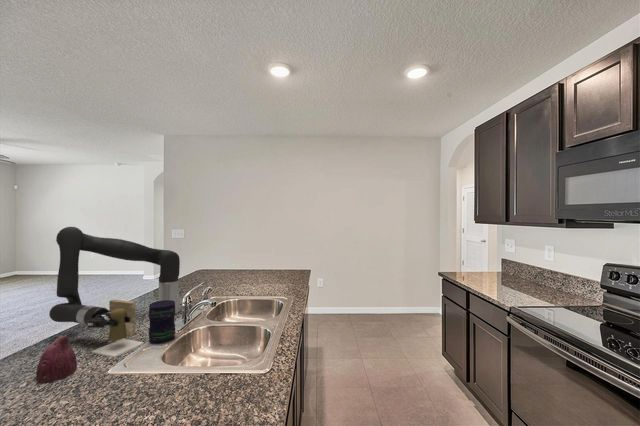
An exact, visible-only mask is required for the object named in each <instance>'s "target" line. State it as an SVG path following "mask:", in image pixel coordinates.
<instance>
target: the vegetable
mask: <svg viewBox="0 0 640 426" xmlns="http://www.w3.org/2000/svg"><path fill="white" fill-rule="evenodd" d="M77 369H78V366H77V356H76V353H75V350H74V349H73V348H72V346H71V345H70V342H69V337H68V336H67V334H66V333H64V332H63V333H62V334H61V335H59V336H58V337H57V338H56V339H55V340H54V341H53V342H52V343H50V344H49V345H48V346H47V347H46V348H45V349H44V351H43V353H42V355H41V356H40V358H39V361H38V364H37V367H36V375H35V376H36V377H35V380H36V382H37V383H40V384H48V383H51V382H55V381H58V380H61V379H65V378H67V377H69V376H71V375H73V374H74V373H75V372H76V371H77Z"/></svg>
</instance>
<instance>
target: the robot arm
mask: <svg viewBox="0 0 640 426" xmlns="http://www.w3.org/2000/svg"><path fill="white" fill-rule="evenodd" d="M55 239H56V240H55V241H56V243H57V245H58V247H59V266H58V271H57V280H56V282H57V283H56V296H57V297H58V298H63V299H66V300H67V302H64V303H58V304H57V303H56V304H55V305H54V306H52V307H51V308H50V310H49V315H48V316H49V317H50V319H51V320H52V321H53V322H57V323H76V324H81V325H82V326H87V328H91V329H93V328H94V329H98V328H99V329H102V328H104V327H109V326H114V327H117V326H118V320H113V319H112V318H111V316H110V313H111V312H109V309H108V308H106V307H102V306H96V305H84V304H83V303H82V300H81V297H80V294H79V276H80V275H79V259H80V253H81V251H82V252H83V251H84V252H89V253H95V254H98V255H101V256H105V257H110V258H114V259H118V260H123V261H131V262H145V263H150V264H154V265H157V266H160V267H159V270H160V271H159V275H158V276H159V277H158V301H164V300H172V301H175V315H177V314H178V313H179V312H180V309H181V305H180V303H181V299H180V297H181V296H180V293H179V276H180V269H181V268H180V267H181V266H180V265H181V264H180V263H181V260H180V256H179V254H178V253H177V252H175V251H173V250H169V249H168V250H167V249H160V248H153V247H148V246H146V245H143V244H141V243H137V242H133V241H130V240H126V239H120V238H114V237H113V238H112V237H111V238H110V237H99V236H94V235H90V234H87V233H85V232H83V231H82V230H81V229H80V228H79V227H76V226H66V227H64V228H62V229H60V230H59V231H58V233H57V234H56V237H55ZM125 322H126V323H128V322H130V317H129V316H127V313H126V316H125Z"/></svg>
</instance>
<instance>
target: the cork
mask: <svg viewBox="0 0 640 426" xmlns="http://www.w3.org/2000/svg"><path fill="white" fill-rule="evenodd" d="M110 316H111V318H112V319H113V320H118V326H117V327H114V326H111V327H110V332H109V333H108V339H107V340H108V341H109V342H115V341H118V340H121V339H126V338H128V337H127V332H126V324H125V316H126V310H125V309H123V308H119V309H115V310H112V311H111V313H110Z"/></svg>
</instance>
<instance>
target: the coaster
mask: <svg viewBox="0 0 640 426" xmlns="http://www.w3.org/2000/svg"><path fill="white" fill-rule="evenodd" d="M143 345H145V342H142V341H138V340H132V339H126V338H124V339H121V340H116V341H112V342H111V343H108V344H107V345H103V346H101V347H98V348H95V349H94V350H92V351H91V353H92V354H95V355H100V356H106V357H110V358H117V357H119V356H121V355H123V354H126V353H127V352H130V351H133V350H135V349H136V348H139V347H141V346H143Z"/></svg>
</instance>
